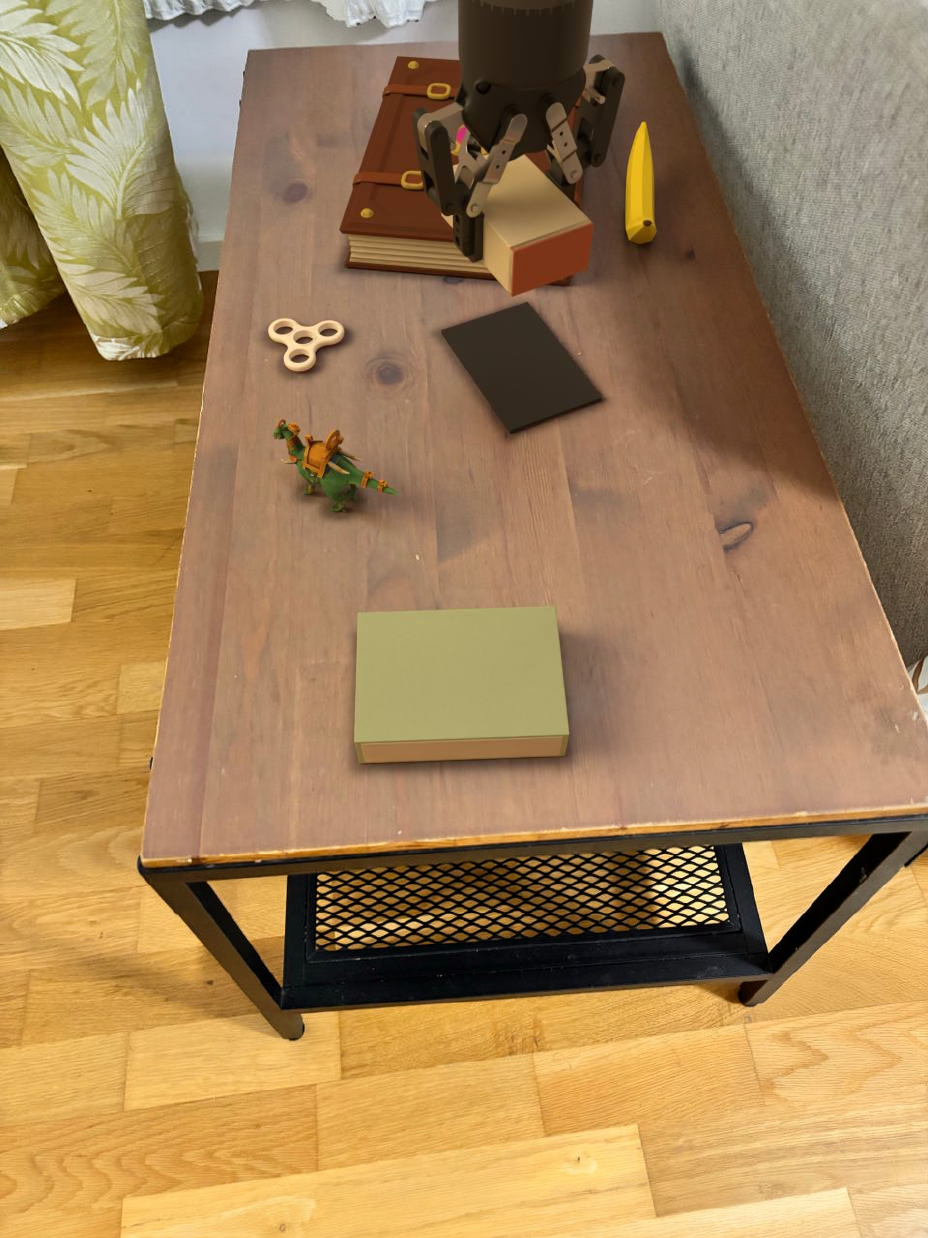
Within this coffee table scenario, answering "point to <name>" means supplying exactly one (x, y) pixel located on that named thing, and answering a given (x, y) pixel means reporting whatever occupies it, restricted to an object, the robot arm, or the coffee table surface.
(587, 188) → the coffee table surface
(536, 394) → the felt pad
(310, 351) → the fidget spinner
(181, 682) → the coffee table surface
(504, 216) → the top book
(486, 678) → the bottom book
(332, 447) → the figurine
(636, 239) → the banana
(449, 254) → the book
